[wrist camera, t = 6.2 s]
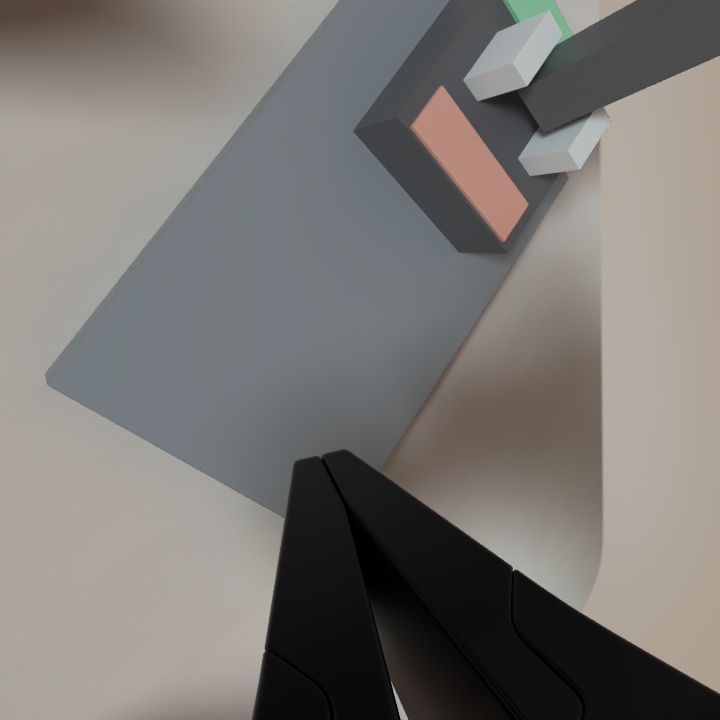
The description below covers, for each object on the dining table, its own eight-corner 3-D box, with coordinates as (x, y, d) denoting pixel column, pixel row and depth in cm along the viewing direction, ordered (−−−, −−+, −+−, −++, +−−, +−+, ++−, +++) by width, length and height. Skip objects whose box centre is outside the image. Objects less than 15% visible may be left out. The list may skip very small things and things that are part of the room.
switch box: (313, 527, 22) (403, 613, 17) (45, 374, 16) (58, 434, 11) (551, 164, 25) (687, 144, 20) (396, -72, 19) (531, -182, 14)
